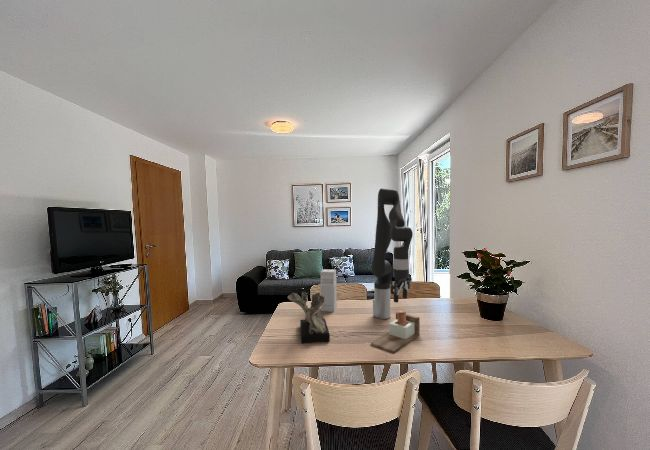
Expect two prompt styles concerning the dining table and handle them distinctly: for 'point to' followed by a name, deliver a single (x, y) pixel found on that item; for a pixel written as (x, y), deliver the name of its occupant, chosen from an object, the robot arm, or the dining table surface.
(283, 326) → the dining table surface
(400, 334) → the hole block
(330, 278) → the box
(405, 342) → the walnut angle bracket
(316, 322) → the coral
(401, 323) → the dowel
